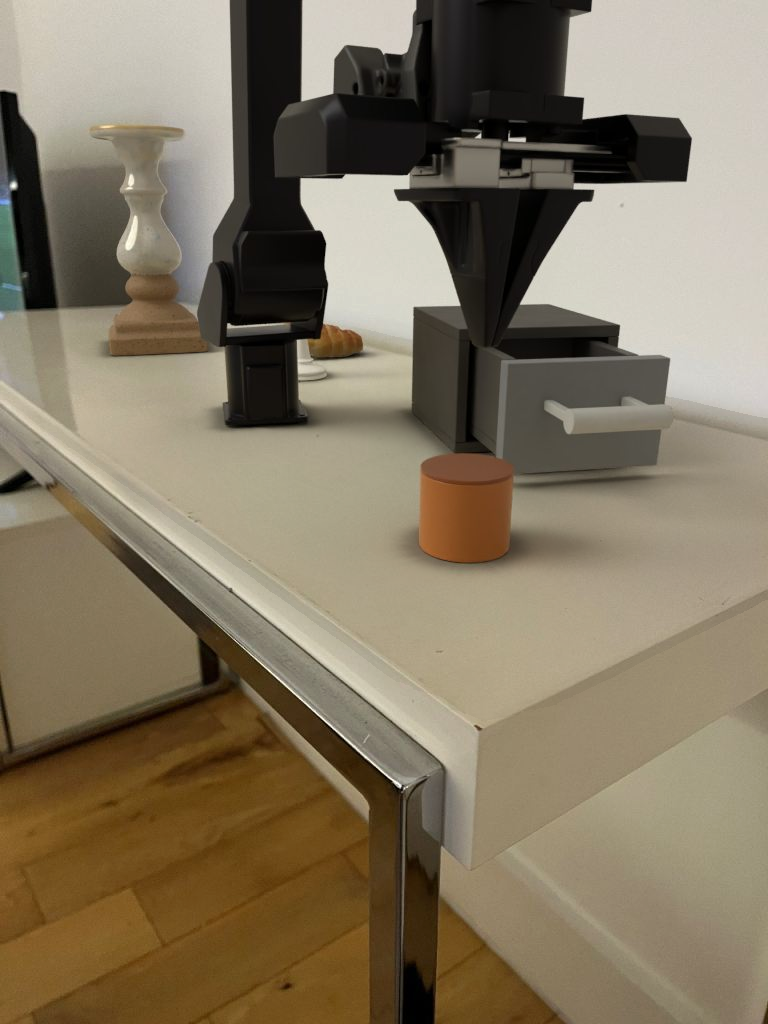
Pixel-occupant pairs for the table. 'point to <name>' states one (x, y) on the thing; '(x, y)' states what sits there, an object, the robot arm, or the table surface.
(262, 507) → the table surface
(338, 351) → the pastry
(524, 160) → the robot arm
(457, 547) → the cylinder
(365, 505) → the table surface
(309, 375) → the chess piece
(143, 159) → the candle holder
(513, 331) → the small drawer cabinet
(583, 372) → the drawer
